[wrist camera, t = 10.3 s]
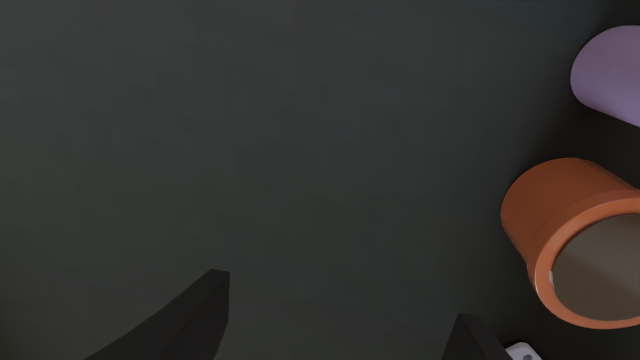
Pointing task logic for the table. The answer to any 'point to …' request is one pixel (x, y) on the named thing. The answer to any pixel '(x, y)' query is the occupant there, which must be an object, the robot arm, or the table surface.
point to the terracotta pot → (578, 240)
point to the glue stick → (610, 73)
